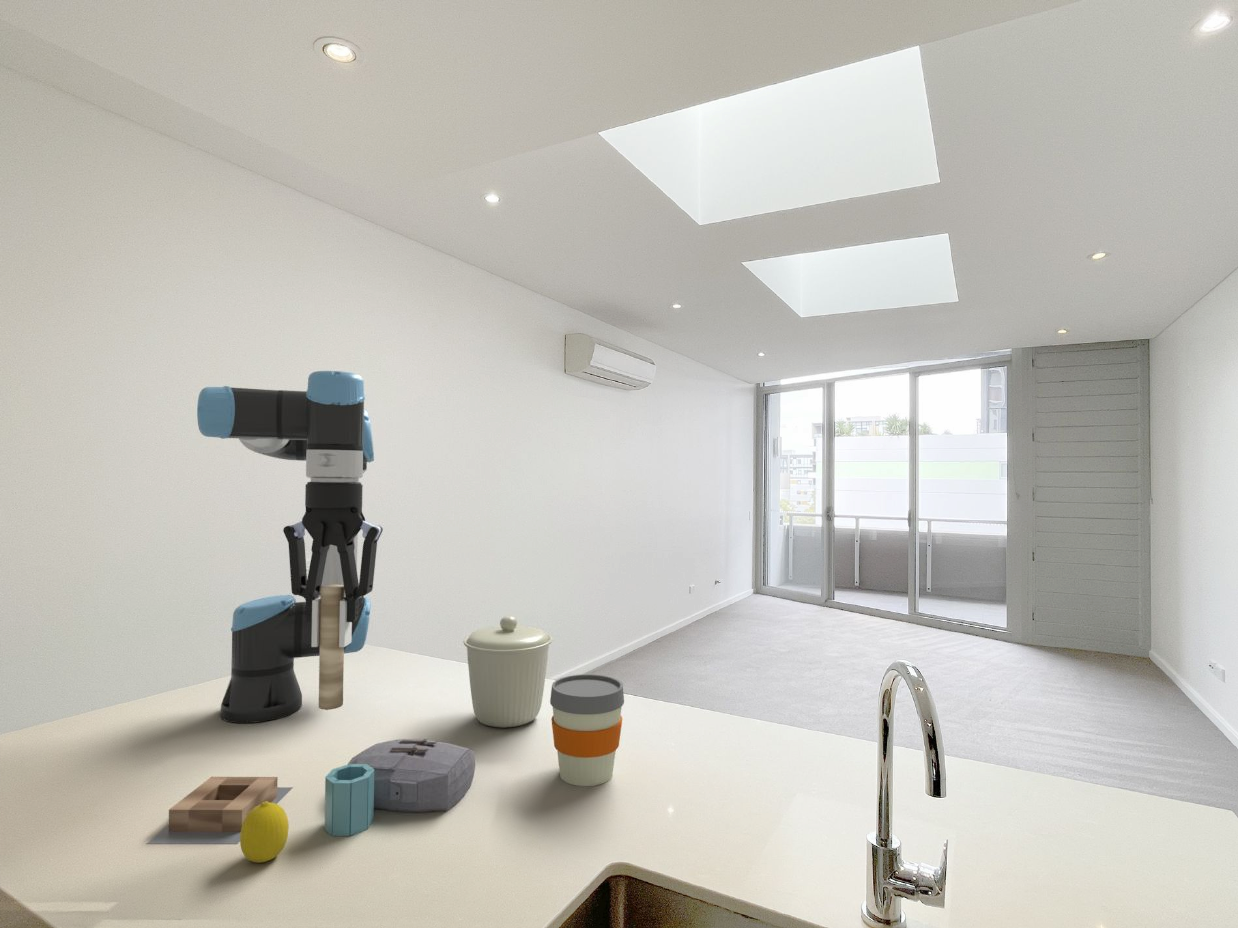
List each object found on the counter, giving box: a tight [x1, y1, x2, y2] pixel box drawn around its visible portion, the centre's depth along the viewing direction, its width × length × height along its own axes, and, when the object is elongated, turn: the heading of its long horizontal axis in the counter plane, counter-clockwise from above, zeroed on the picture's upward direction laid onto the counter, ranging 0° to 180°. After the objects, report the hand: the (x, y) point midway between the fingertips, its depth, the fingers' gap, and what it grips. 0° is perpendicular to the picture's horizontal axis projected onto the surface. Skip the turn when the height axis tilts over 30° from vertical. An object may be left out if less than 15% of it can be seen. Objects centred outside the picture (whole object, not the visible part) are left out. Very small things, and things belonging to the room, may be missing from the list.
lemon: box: [239, 801, 290, 864], centre depth 87 cm, size 6×6×8 cm
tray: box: [145, 786, 294, 845], centre depth 98 cm, size 16×12×1 cm
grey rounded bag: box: [346, 738, 476, 813], centre depth 105 cm, size 15×8×20 cm
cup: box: [324, 763, 375, 837], centre depth 95 cm, size 6×6×8 cm
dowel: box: [318, 585, 345, 711], centre depth 96 cm, size 3×3×17 cm
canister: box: [462, 615, 553, 728], centre depth 138 cm, size 18×18×21 cm
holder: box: [168, 776, 278, 832], centre depth 98 cm, size 10×10×3 cm
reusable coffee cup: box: [549, 673, 625, 787], centre depth 114 cm, size 13×13×15 cm
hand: (331, 644), depth 96 cm, fingers closed on dowel, 3 cm apart
